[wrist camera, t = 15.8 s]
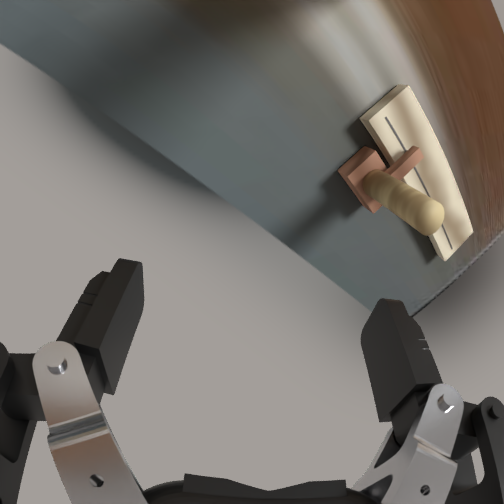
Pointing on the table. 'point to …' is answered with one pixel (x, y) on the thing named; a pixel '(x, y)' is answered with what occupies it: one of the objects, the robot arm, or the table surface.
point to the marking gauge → (392, 188)
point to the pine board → (428, 169)
